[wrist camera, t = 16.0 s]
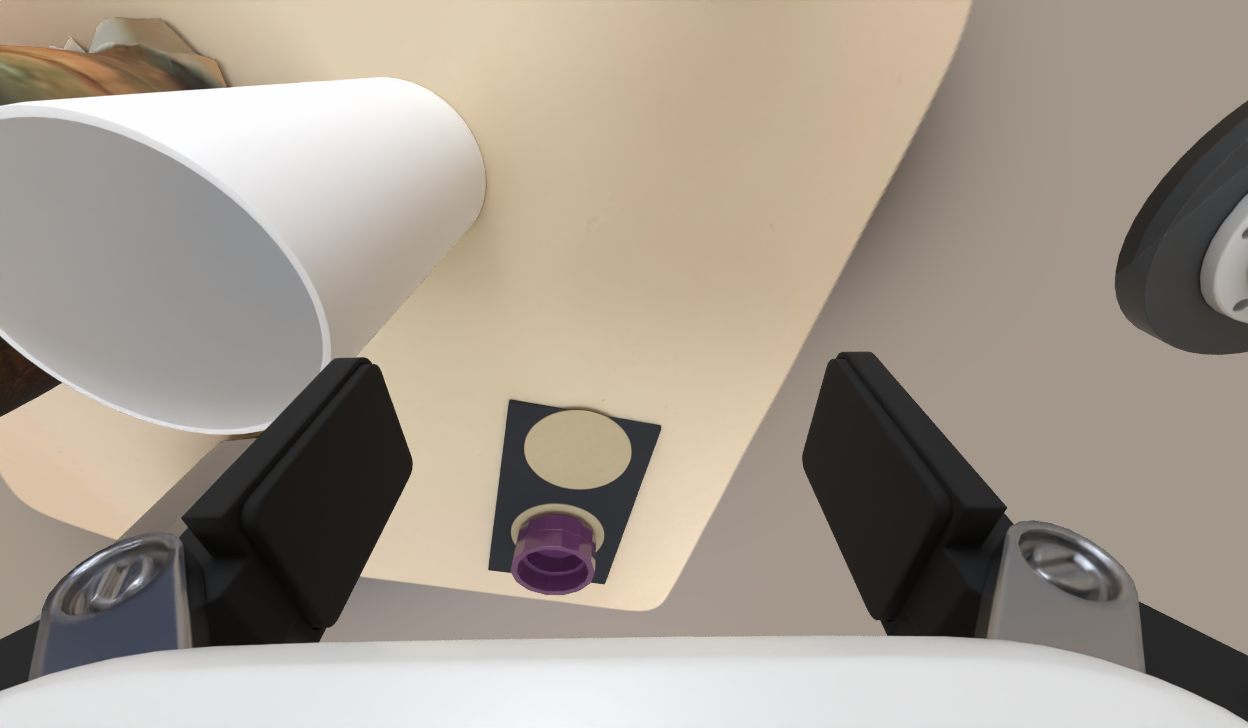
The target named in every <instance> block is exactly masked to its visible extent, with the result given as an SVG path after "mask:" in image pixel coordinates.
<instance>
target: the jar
mask: <svg viewBox="0 0 1248 728" xmlns="http://www.w3.org/2000/svg"><path fill="white" fill-rule="evenodd" d="M256 439H257V438H251V439H241V440H233V441H225V442H221V443H220V444H218V445H217V446H216V447H215V448H214V449H213V450H212V451H210V452H209V453H208V454H207V455H206V456H205V457H204V458H202V459H201V460H200V461H199V462H198V463H197V464H196V465H195V466H194V467H193V468H192V469H191V470H190V471H189V472H188V473H187V474H186V475H185V476H184V477H183V478H182V479H181V480H179V481H178V482H177V483H176V484H175V485H174V486H173V487H172V488H171V489H170V490H169V491H168V492H167V493H166V494H165V495H164V496H163V497H162V498H161V499H160V500H159V501H158V502H157V503H156V504H154V505H153V506H152V507H151V508H150V509H149V510H148V511H147V512H146V513H145V514H144V515H143V516H142V517H141V518H140V519H139V520H138V521H137V522H136V523H135V524H134V525H133V526H132V527H130V528H129V529H128V530H127V531H126V532H125V533H124V534H123V535H122V536H121V537H120V538H119V539H118V540H117V541H116V542H115V543H117V542H119V541H122V540H124V539H127V538H130V537H133V536H136V535H139V534H145V533H151V532H170V533H172V534H173V535H175V536H177V537H180V536H181V534H182V533H183V532H184V531H185V530H186V529H187V528H188V527H187V526H186V524H185V523H184V522H183V521H182V519H181V517H182V516H183V515H184V514H185V513H186V512H187V511H188V510H189V509H190V508H191V507H192V506H193V505H194V503H195V502H196V501H197V500H198V499H199V498H200V497H201V496H202V495H203V494H204V493H205V492H206V491H207V490H208V489H209V488H210V487H211V486H212V485H213V484H214V483H215V482H216V481H217V479H218V478H219V477H220V476H221V475H222V474H223V473H224V472H225V471H226V470H227V469H228V468H229V467H230V466H231V465H232V464H233V463H234V462H235V461H236V460H237V459H238V458H239V457H240V455H241V454H242V453H243V452H244V451H245V450H246V449H247V448H248V447H249V446H250V445H251V444H252V443H253V442H254V441H255V440H256ZM115 543H114V544H115ZM40 618H41V614H40V615H39V616H38V617H37V618H36V619H35V620H34V621H33V622H31V623H30V624H32V623H34V622H36V621H38V620H40Z"/></svg>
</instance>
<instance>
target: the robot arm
mask: <svg viewBox="0 0 1248 728" xmlns="http://www.w3.org/2000/svg"><path fill="white" fill-rule="evenodd" d="M1200 286H1201V292H1202V295H1203V297H1204V299H1205V301H1206V303H1207V304H1208V305H1209V306H1211V307H1212V308H1213V309H1214V310H1215V311H1217V312H1219V313H1221V314H1223V315H1226V316H1228V317H1230V318H1232V319H1234V320H1238V321H1241V322H1245V323H1248V194H1247V195H1246V196H1245V197H1244V198H1243V199H1242V200H1241V201H1240V202H1239V203H1238V204H1237V205H1236V207H1235V208H1234V209H1233V210H1232V212H1231V213H1230V214H1229V215H1228V216H1227V218H1226V219H1225V220H1224V221H1223V223H1222V224H1221V226H1220V228H1219V229H1218V231H1217V232H1216V234H1215V236H1214V237H1213V239H1212V240H1211V242H1210V245H1209V247H1208V250H1207V252H1206V254H1205V257H1204V259H1203V263H1202V268H1201V273H1200ZM802 460H803V468H804V470H805V473H806V475H807V477H808V479H809V482H810V484H811V486H812V488H813V490H814V493H815V495H816V497H817V499H818V502H819V504H820V506H821V508H822V510H823V513H824V515H825V517H826V519H827V521H828V524H829V526H830V528H831V530H832V532H833V535H834V537H835V539H836V541H837V543H838V546H839V548H840V550H841V552H842V555H843V557H844V559H845V561H846V563H847V565H848V568H849V570H850V572H851V574H852V576H853V579H854V581H855V583H856V586H857V588H858V590H859V592H860V594H861V596H862V599H863V601H864V603H865V605H866V608H867V610H868V612H869V613H870V615H871V616H872V617H873V618H874V619H875V620H880V621H881V623H882V625H883V627H884V629H885V631H886V634H887V636H735V637H734V636H731V637H729V636H725V637H639V638H638V637H635V638H633V637H632V638H558V639H557V638H556V639H491V640H489V639H488V640H432V641H379V642H326V643H319V641H320V639H321V637H322V635H323V633H324V632H325V629H326V628H327V627H331V626H333V625H334V624H335V622H336V621H337V620H338V618H339V616H340V614H341V612H342V610H343V608H344V606H345V604H346V602H347V600H348V598H349V596H350V594H351V592H352V590H353V588H354V586H355V584H356V582H357V581H358V579H359V577H360V575H361V573H362V571H363V569H364V567H365V565H366V563H367V561H368V559H369V557H370V555H371V553H372V551H373V549H374V547H375V545H376V543H377V541H378V539H379V537H380V535H381V533H382V531H383V529H384V527H385V525H386V523H387V521H388V519H389V517H390V515H391V513H392V511H393V509H394V507H395V505H396V503H397V501H398V499H399V497H400V495H401V493H402V491H403V489H404V487H405V485H406V483H407V481H408V479H409V477H410V475H411V472H412V465H413V463H412V457H411V454H410V451H409V448H408V446H407V443H406V440H405V437H404V434H403V431H402V429H401V426H400V423H399V420H398V417H397V415H396V412H395V409H394V406H393V403H392V401H391V398H390V395H389V392H388V389H387V386H386V384H385V381H384V378H383V375H382V372H381V370H380V368H379V367H378V366H377V365H375V364H372V363H371V361H370V360H369V359H367V358H365V357H358V358H335V359H333V360H332V361H331V362H330V363H329V364H328V365H327V366H326V367H325V368H324V369H323V370H322V371H321V372H320V373H319V374H318V375H317V376H316V377H315V378H314V379H313V380H312V381H311V382H310V383H309V385H308V386H307V387H306V388H305V389H304V390H303V391H302V392H301V393H300V394H299V395H298V396H297V397H296V398H295V399H294V400H293V401H292V402H291V403H290V404H289V405H288V406H287V407H286V409H285V410H284V411H283V412H282V413H281V414H280V415H279V416H278V417H277V418H276V419H275V420H274V421H273V422H272V423H271V424H270V425H269V426H268V427H267V428H266V429H265V430H264V431H263V433H262V434H261V435H260V436H259V437H258V438H257V439H256V440H255V441H254V442H253V443H252V444H251V445H250V446H249V447H248V448H247V449H246V450H245V451H244V452H243V453H242V454H241V455H240V457H239V458H238V459H237V460H236V461H235V462H234V463H233V464H232V465H231V466H230V467H229V468H228V469H227V470H226V471H225V472H224V473H223V474H222V475H221V476H220V477H219V478H218V479H217V481H216V482H215V483H214V484H213V485H212V486H211V487H210V488H209V489H208V490H207V491H206V492H205V493H204V494H203V495H202V496H201V497H200V498H199V499H198V500H197V501H196V502H195V503H194V505H193V506H192V507H191V508H190V509H189V510H188V511H187V512H186V513H185V514H184V515H183V516H182V517H181V519H182V521H183V522H184V523H185V524H186V526H187V527H188V528H187V529H186V530H185V531H184V532H183V533H182V534H181V536H180V537H177V536H175V535H173V534H172V533H170V532H151V533H145V534H139V535H136V536H133V537H130V538H127V539H124V540H122V541H119V542H117V543H115V544H113V545H111V546H109V547H107V548H105V549H103V550H101V551H99V552H97V553H95V554H94V555H92V556H91V557H90V558H88V559H86V560H85V561H83V562H82V563H80V564H79V565H77V566H76V567H75V568H74V569H73V570H72V571H70V572H69V573H68V574H67V575H66V576H64V577H63V578H62V579H61V580H60V581H59V583H58V584H57V585H56V586H55V587H54V589H53V590H52V591H51V592H50V593H49V595H48V597H47V599H46V601H45V604H44V606H43V608H42V612H41V618H40V620H38V621H36V622H34V623H32V624H30V625H28V626H26V627H24V628H22V629H20V630H18V631H16V632H14V633H12V634H10V635H9V636H6V637H4V638H2V639H0V728H1248V656H1247V655H1245V654H1243V653H1241V652H1239V651H1237V650H1235V649H1233V648H1231V647H1229V646H1227V645H1225V644H1223V643H1221V642H1219V641H1217V640H1215V639H1213V638H1211V637H1209V636H1207V635H1205V634H1203V633H1201V632H1199V631H1197V630H1195V629H1193V628H1191V627H1189V626H1187V625H1185V624H1183V623H1181V622H1179V621H1177V620H1175V619H1173V618H1171V617H1169V616H1167V615H1165V614H1163V613H1161V612H1159V611H1157V610H1155V609H1153V608H1151V607H1149V606H1147V605H1145V604H1143V603H1141V602H1139V601H1138V593H1137V590H1136V587H1135V584H1134V582H1133V580H1132V578H1131V577H1130V575H1129V574H1128V573H1127V572H1126V570H1125V569H1124V567H1123V566H1122V565H1121V564H1120V563H1119V562H1118V561H1117V560H1116V559H1114V558H1113V557H1112V556H1111V555H1110V554H1109V553H1108V552H1106V551H1105V550H1104V549H1102V548H1101V547H1099V546H1098V545H1096V544H1095V543H1094V542H1092V541H1091V540H1089V539H1087V538H1085V537H1083V536H1081V535H1079V534H1077V533H1075V532H1073V531H1071V530H1069V529H1066V528H1064V527H1060V526H1058V525H1055V524H1052V523H1047V522H1039V521H1034V520H1033V521H1021V522H1018V523H1016V524H1013V523H1012V522H1011V521H1010V519H1009V518H1008V517H1007V516H1006V515H1005V514H1004V512H1005V510H1006V509H1007V507H1006V506H1005V504H1004V503H1003V502H1002V501H1001V500H1000V499H999V498H998V496H997V495H996V494H995V493H994V492H993V491H992V489H991V488H990V487H989V486H988V485H987V484H986V483H985V482H984V480H983V479H982V478H981V477H980V476H979V474H978V473H977V472H976V471H975V470H974V469H973V468H972V466H971V465H970V464H969V463H968V462H967V461H966V460H965V458H964V457H963V456H962V455H961V454H960V453H959V451H958V450H957V449H956V448H955V447H954V446H953V445H952V443H951V442H950V441H949V440H948V439H947V438H946V437H945V435H944V434H943V433H942V432H941V431H940V430H939V429H938V427H937V426H936V425H935V424H934V423H933V422H932V420H931V419H930V418H929V417H928V416H927V415H926V414H925V412H924V411H923V410H922V409H921V408H920V407H919V405H918V404H917V403H916V402H915V401H914V400H913V399H912V397H911V396H910V395H909V394H908V393H907V392H906V391H905V389H904V388H903V387H902V386H901V385H900V384H899V382H898V381H897V380H896V379H895V378H894V377H893V376H892V375H891V373H890V372H889V371H888V370H887V369H886V368H885V366H884V365H883V364H882V363H881V362H880V361H879V359H878V358H877V357H876V356H875V355H874V354H873V353H871V352H841V353H839V354H838V356H837V357H836V359H832V360H830V361H829V363H828V365H827V368H826V371H825V375H824V379H823V383H822V386H821V389H820V393H819V397H818V400H817V404H816V407H815V411H814V415H813V418H812V422H811V426H810V429H809V433H808V436H807V440H806V443H805V447H804V451H803V455H802Z"/></svg>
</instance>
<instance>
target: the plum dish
mask: <svg viewBox="0 0 1248 728" xmlns="http://www.w3.org/2000/svg"><path fill="white" fill-rule="evenodd" d="M595 560H596V539H595V537H594V534H593V531H592V530H591V529H590V528H589V527H588V526H586V525H585V524H584V523H583V522H582V521H580V520H578V519H576V518H574V517H572V516H568V515H563V514H548V515H543V516H540V517H537V518H535V519H532V520H530V521H528V522H527V523H526V524H525V525H524V526H523V527H522V528H520V530H519V533H518V537H517V542H516V547H515V551H514V556H513V561H512V566H511V573H512V575H513V577H514V578H515V580H516V582H517V583H519V584H520V585H522V586H523V587H525V588H526V589H528V590H530V591H534V592H538V593H541V594H546V595H565V594H569V593H573V592H577V591H579V590H581V589H583V588H584V587H585V586H587V585H588V584H590V583H591V581H592V578H593V576H594V573H595Z"/></svg>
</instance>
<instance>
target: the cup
mask: <svg viewBox="0 0 1248 728" xmlns="http://www.w3.org/2000/svg"><path fill="white" fill-rule="evenodd" d="M485 190H486V175H485V168H484V162H483V159H482V155H481V152H480V150H479V147H478V145H477V143H476V140H475V138H474V136H473V135H472V133H471V131H470V129H469V128H468V127H467V125H466V124H465V122H464V121H463V120H462V118H461V117H460V116H459V115H458V114H457V113H456V112H455V110H454V109H453V108H452V107H451V106H449V105H448V104H447V103H446V102H445V101H444V100H442V99H441V98H440V97H438V96H437V95H436V94H434V93H432V92H431V91H429V90H427V89H425V88H424V87H422V86H419V85H417V84H415V83H412V82H409V81H405V80H402V79H396V78H387V77H380V78H363V79H349V80H334V81H319V82H304V83H289V84H275V85H260V86H245V87H230V88H215V89H201V90H186V91H171V92H156V93H142V94H127V95H113V96H99V97H85V98H71V99H57V100H43V101H29V102H21V103H15V104H9V105H3V106H0V336H1V337H2V338H3V339H4V340H5V341H7V342H8V343H9V344H10V345H11V346H12V347H13V348H15V349H16V350H17V351H18V352H20V353H21V354H22V355H23V356H25V357H26V358H27V359H29V360H30V361H31V362H33V363H34V364H35V365H37V366H38V367H40V368H41V369H42V370H44V371H45V372H47V373H48V374H50V375H51V376H53V377H54V378H56V379H58V380H59V381H61V382H62V383H64V384H66V385H67V386H69V387H71V388H73V389H74V390H76V391H78V392H80V393H82V394H83V395H85V396H87V397H89V398H91V399H93V400H95V401H97V402H99V403H101V404H104V405H106V406H108V407H110V408H112V409H115V410H117V411H120V412H122V413H125V414H127V415H130V416H133V417H136V418H138V419H141V420H144V421H147V422H151V423H154V424H158V425H161V426H165V427H169V428H174V429H178V430H184V431H189V432H196V433H205V434H221V435H229V434H245V433H253V432H258V431H263V430H265V429H266V428H267V427H268V426H269V425H270V424H271V423H272V422H273V421H274V420H275V419H276V418H277V417H278V416H279V415H280V414H281V413H282V412H283V411H284V410H285V409H286V407H287V406H288V405H289V404H290V403H291V402H292V401H293V400H294V399H295V398H296V397H297V396H298V395H299V394H300V393H301V392H302V391H303V390H304V389H305V388H306V387H307V386H308V385H309V383H310V382H311V381H312V380H313V379H314V378H315V377H316V376H317V375H318V374H319V373H320V372H321V371H322V370H323V369H324V368H325V367H326V366H327V365H328V364H329V363H330V362H331V361H332V360H333V359H335V358H355V357H356V356H357V355H358V354H359V353H360V351H361V350H362V349H363V348H364V347H365V346H366V345H367V344H368V342H369V341H370V340H371V339H372V338H373V337H374V336H375V335H376V333H377V332H378V331H379V330H380V329H381V328H382V327H383V325H384V324H385V323H386V322H387V321H388V320H389V319H390V318H391V316H392V315H393V314H394V313H395V312H396V311H397V310H398V308H399V307H400V306H401V305H402V304H403V303H404V302H405V301H406V299H407V298H408V297H409V296H410V295H411V294H412V293H413V292H414V290H415V289H416V288H417V287H418V286H419V285H420V284H421V282H422V281H423V280H424V279H425V278H426V277H427V276H428V275H429V273H430V272H431V271H432V270H433V269H434V268H435V267H436V265H437V264H438V263H439V262H440V261H441V260H442V259H443V258H444V256H445V255H446V254H447V253H448V252H449V251H450V250H451V248H452V247H453V246H454V245H455V244H456V243H457V242H458V241H459V239H460V238H461V237H462V236H463V235H464V234H465V233H466V232H467V230H468V229H469V228H470V227H471V226H472V224H473V223H474V222H475V220H476V219H477V217H478V215H479V213H480V211H481V208H482V205H483V202H484V197H485Z"/></svg>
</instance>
